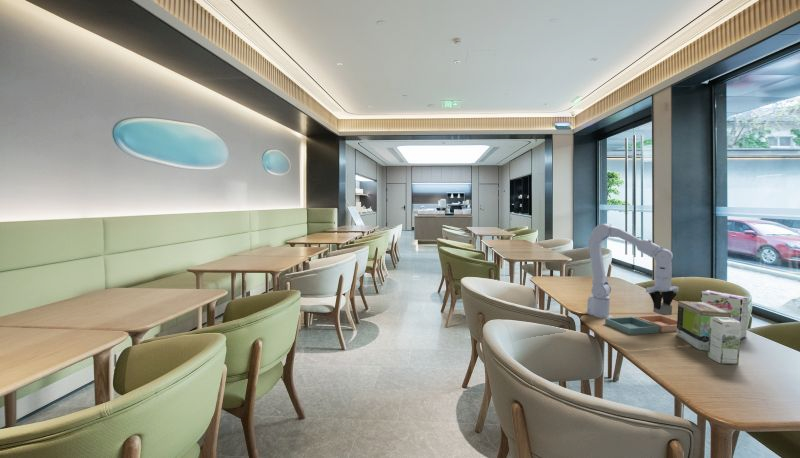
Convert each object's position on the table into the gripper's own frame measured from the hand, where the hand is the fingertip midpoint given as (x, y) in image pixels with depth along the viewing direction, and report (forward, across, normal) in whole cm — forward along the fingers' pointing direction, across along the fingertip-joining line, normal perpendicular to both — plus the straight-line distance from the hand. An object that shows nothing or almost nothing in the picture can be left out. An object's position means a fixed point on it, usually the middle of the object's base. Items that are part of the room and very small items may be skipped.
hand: (661, 308), depth 155 cm
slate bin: (+8, -15, 0) cm, 17 cm away
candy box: (+8, +18, -11) cm, 23 cm away
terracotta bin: (+8, 0, 0) cm, 8 cm away
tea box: (+8, -2, -19) cm, 21 cm away
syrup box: (+8, -10, -33) cm, 36 cm away
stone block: (+2, 0, 0) cm, 2 cm away
